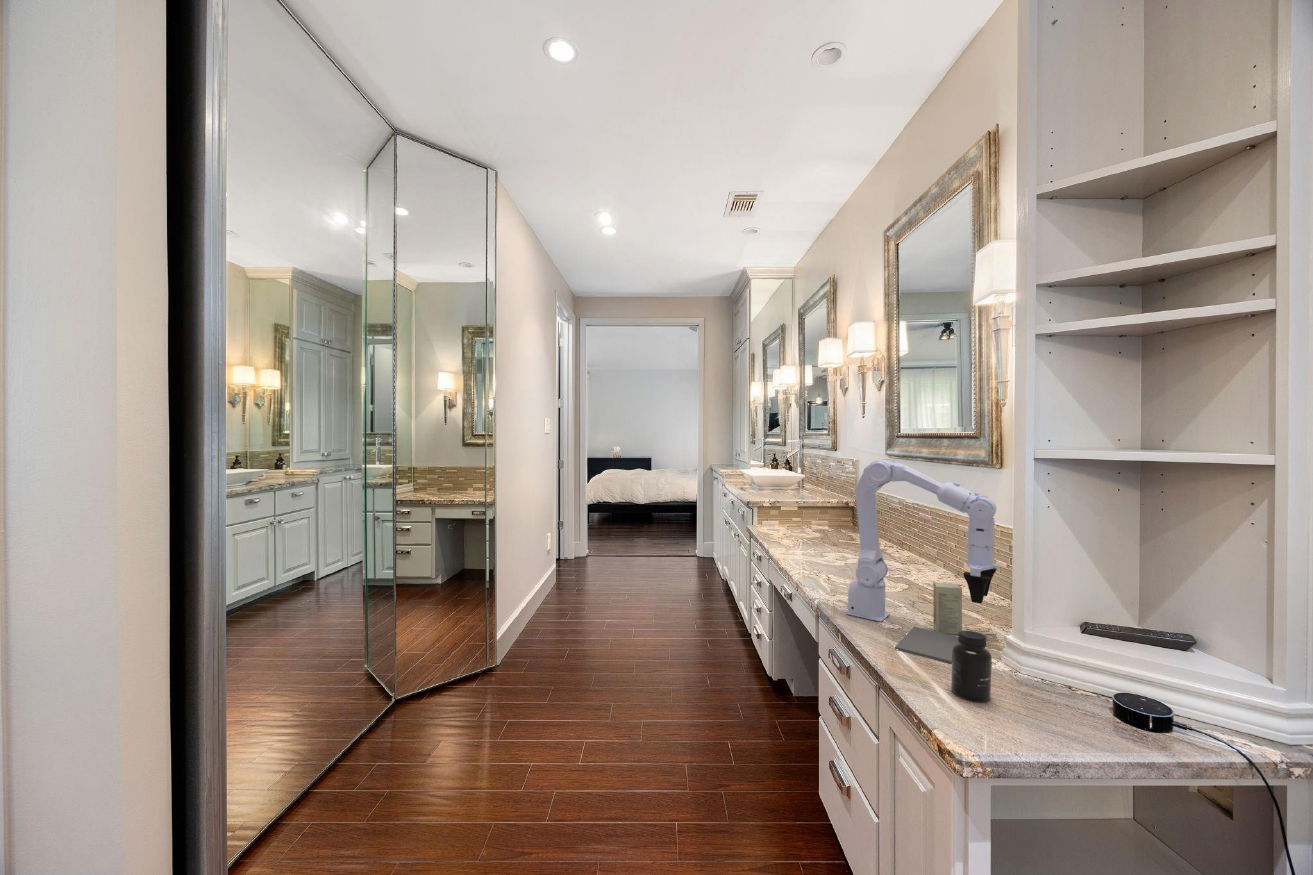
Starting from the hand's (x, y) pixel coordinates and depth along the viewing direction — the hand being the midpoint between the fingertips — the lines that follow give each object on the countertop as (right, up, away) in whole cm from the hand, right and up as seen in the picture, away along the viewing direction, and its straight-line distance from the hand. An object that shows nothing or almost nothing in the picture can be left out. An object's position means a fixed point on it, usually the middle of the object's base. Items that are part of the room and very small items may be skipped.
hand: (979, 598), depth 136 cm
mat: (-13, -10, -5) cm, 17 cm away
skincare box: (-6, -10, +5) cm, 13 cm away
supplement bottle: (-19, -11, -28) cm, 36 cm away
